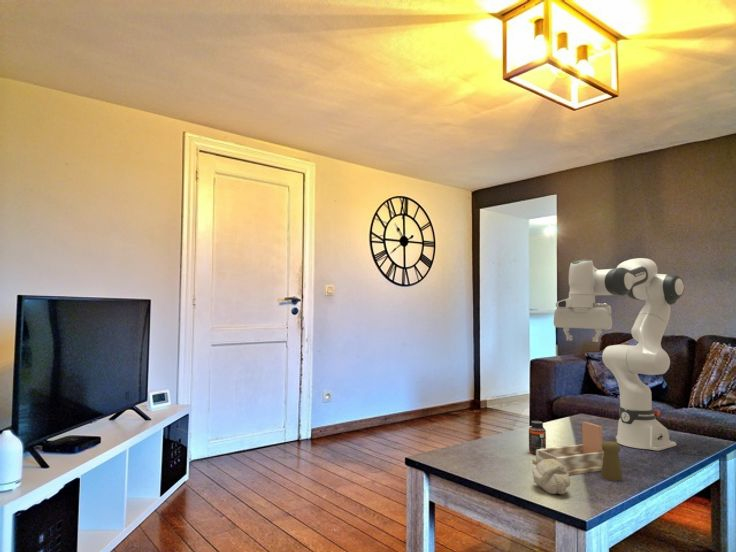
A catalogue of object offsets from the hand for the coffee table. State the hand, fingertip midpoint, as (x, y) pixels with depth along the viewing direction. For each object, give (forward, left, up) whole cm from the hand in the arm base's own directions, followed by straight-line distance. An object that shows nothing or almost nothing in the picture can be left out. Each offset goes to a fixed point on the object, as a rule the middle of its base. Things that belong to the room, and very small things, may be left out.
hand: (582, 341), depth 174 cm
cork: (+8, +19, -42) cm, 47 cm away
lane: (+10, +6, -42) cm, 43 cm away
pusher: (+2, +6, -40) cm, 41 cm away
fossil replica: (+34, +21, -42) cm, 58 cm away
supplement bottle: (+12, -10, -42) cm, 45 cm away
